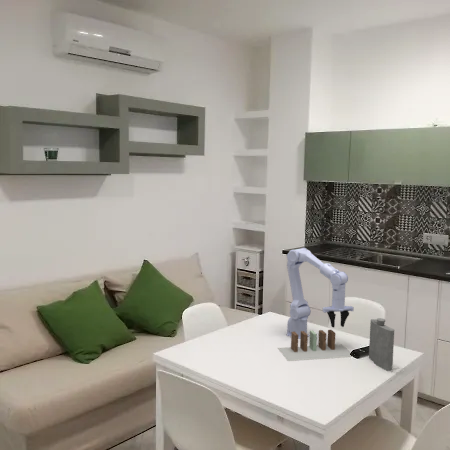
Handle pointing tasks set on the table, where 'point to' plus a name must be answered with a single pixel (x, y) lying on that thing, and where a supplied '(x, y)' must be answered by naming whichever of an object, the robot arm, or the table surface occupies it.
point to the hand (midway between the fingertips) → (337, 326)
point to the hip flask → (381, 344)
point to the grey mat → (315, 353)
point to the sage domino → (313, 340)
